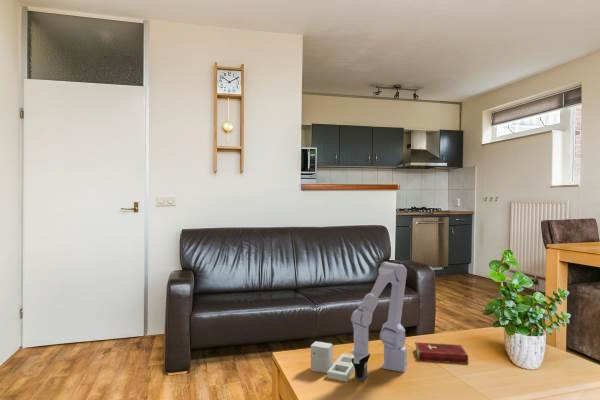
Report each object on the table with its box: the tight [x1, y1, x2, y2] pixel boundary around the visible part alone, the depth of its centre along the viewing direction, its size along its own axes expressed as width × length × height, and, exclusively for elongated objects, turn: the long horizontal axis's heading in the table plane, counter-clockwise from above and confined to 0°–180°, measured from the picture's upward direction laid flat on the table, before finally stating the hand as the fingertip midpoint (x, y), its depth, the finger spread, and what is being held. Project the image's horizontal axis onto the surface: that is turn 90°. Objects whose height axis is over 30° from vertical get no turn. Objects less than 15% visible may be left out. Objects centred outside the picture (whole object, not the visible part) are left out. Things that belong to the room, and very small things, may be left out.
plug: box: [354, 362, 368, 382], centre depth 152 cm, size 4×4×6 cm
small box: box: [310, 341, 334, 374], centre depth 160 cm, size 8×6×10 cm
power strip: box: [326, 352, 355, 383], centre depth 163 cm, size 8×27×3 cm, turn 156°
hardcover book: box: [414, 341, 469, 364], centre depth 174 cm, size 12×21×4 cm, turn 81°
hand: (361, 374), depth 152 cm, fingers closed on plug, 4 cm apart
